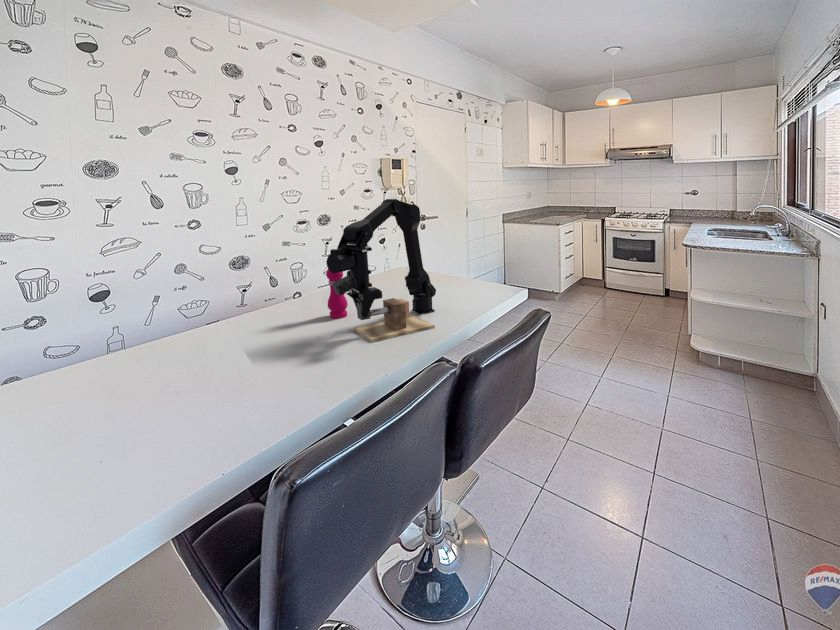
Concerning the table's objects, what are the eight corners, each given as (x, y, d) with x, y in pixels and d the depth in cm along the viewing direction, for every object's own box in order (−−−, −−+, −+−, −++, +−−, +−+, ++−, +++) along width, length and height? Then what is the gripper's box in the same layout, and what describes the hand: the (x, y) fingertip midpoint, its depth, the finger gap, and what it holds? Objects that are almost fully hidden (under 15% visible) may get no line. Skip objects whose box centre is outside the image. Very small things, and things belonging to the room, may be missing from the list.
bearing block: (395, 321, 153) (393, 298, 150) (406, 327, 146) (405, 303, 143) (384, 324, 151) (383, 300, 148) (395, 330, 144) (394, 305, 142)
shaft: (403, 308, 150) (402, 293, 149) (407, 311, 148) (407, 295, 146) (357, 317, 142) (356, 302, 141) (361, 320, 140) (360, 304, 138)
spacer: (401, 313, 152) (400, 298, 150) (409, 317, 147) (408, 301, 146) (396, 314, 151) (395, 299, 149) (404, 318, 146) (403, 302, 145)
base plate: (413, 317, 160) (413, 315, 159) (434, 327, 148) (434, 324, 148) (353, 330, 149) (353, 327, 148) (371, 342, 137) (371, 339, 137)
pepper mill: (344, 319, 161) (339, 264, 155) (325, 318, 163) (320, 264, 157) (351, 313, 168) (346, 260, 162) (333, 313, 169) (328, 260, 164)
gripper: (323, 266, 140) (328, 313, 145) (345, 275, 125) (350, 328, 130) (356, 261, 146) (359, 307, 150) (381, 270, 130) (384, 321, 135)
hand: (362, 316), depth 141 cm, fingers closed on shaft, 3 cm apart
